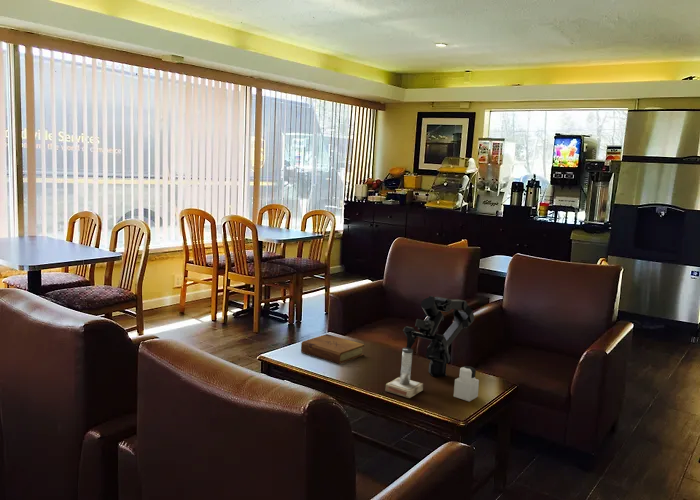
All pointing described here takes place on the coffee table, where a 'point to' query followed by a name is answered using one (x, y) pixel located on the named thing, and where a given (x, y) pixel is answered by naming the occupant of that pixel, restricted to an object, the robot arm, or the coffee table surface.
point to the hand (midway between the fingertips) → (416, 353)
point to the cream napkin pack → (404, 388)
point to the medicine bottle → (466, 384)
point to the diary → (332, 348)
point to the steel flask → (406, 366)
